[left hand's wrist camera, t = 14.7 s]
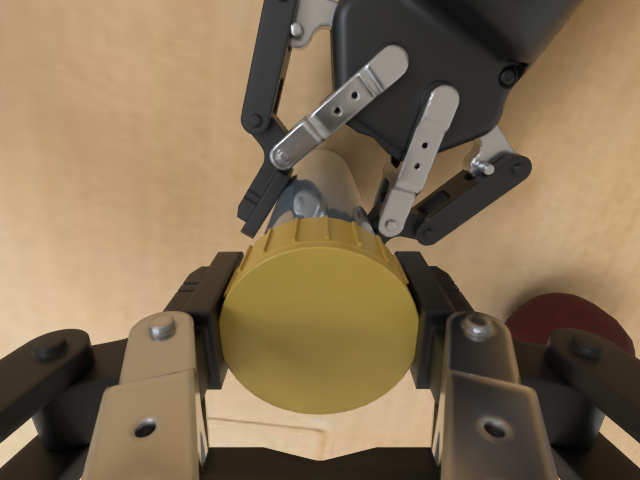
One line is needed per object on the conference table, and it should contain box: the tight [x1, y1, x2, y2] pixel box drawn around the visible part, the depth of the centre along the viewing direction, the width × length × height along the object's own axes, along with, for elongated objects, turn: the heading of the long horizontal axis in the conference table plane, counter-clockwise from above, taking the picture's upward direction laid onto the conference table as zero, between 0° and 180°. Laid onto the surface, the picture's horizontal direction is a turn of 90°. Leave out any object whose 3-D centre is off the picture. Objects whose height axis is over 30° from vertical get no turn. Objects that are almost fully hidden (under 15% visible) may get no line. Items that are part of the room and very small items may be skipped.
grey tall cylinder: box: [264, 149, 375, 235], centre depth 17 cm, size 4×4×16 cm
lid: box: [219, 215, 419, 415], centre depth 10 cm, size 5×5×2 cm
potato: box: [505, 293, 635, 356], centre depth 25 cm, size 7×8×7 cm
